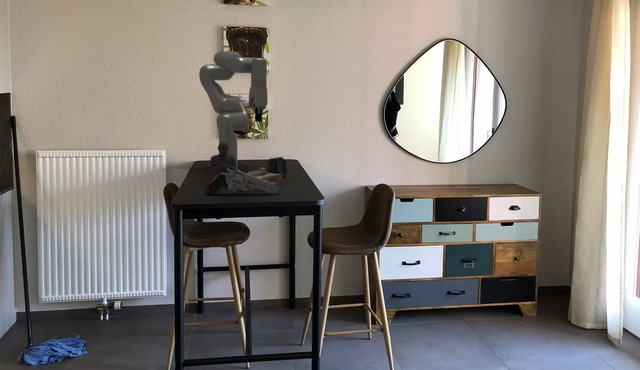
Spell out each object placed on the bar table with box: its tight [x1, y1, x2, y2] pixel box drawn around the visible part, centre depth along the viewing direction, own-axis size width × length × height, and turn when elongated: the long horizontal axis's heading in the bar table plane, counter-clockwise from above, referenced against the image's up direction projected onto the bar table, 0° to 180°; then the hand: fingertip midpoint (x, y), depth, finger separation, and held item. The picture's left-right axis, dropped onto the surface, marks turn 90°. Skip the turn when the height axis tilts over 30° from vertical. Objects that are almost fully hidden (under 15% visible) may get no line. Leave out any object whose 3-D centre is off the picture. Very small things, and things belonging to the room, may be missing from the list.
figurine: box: [209, 142, 236, 178], centre depth 320 cm, size 12×8×20 cm, turn 92°
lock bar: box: [241, 162, 267, 175], centre depth 319 cm, size 15×3×6 cm, turn 142°
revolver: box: [204, 167, 281, 196], centre depth 294 cm, size 4×29×15 cm, turn 96°
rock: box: [266, 156, 288, 178], centre depth 345 cm, size 10×6×10 cm, turn 142°
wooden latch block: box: [225, 172, 283, 192], centre depth 317 cm, size 14×26×5 cm, turn 149°
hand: (258, 121), depth 336 cm, fingers closed
